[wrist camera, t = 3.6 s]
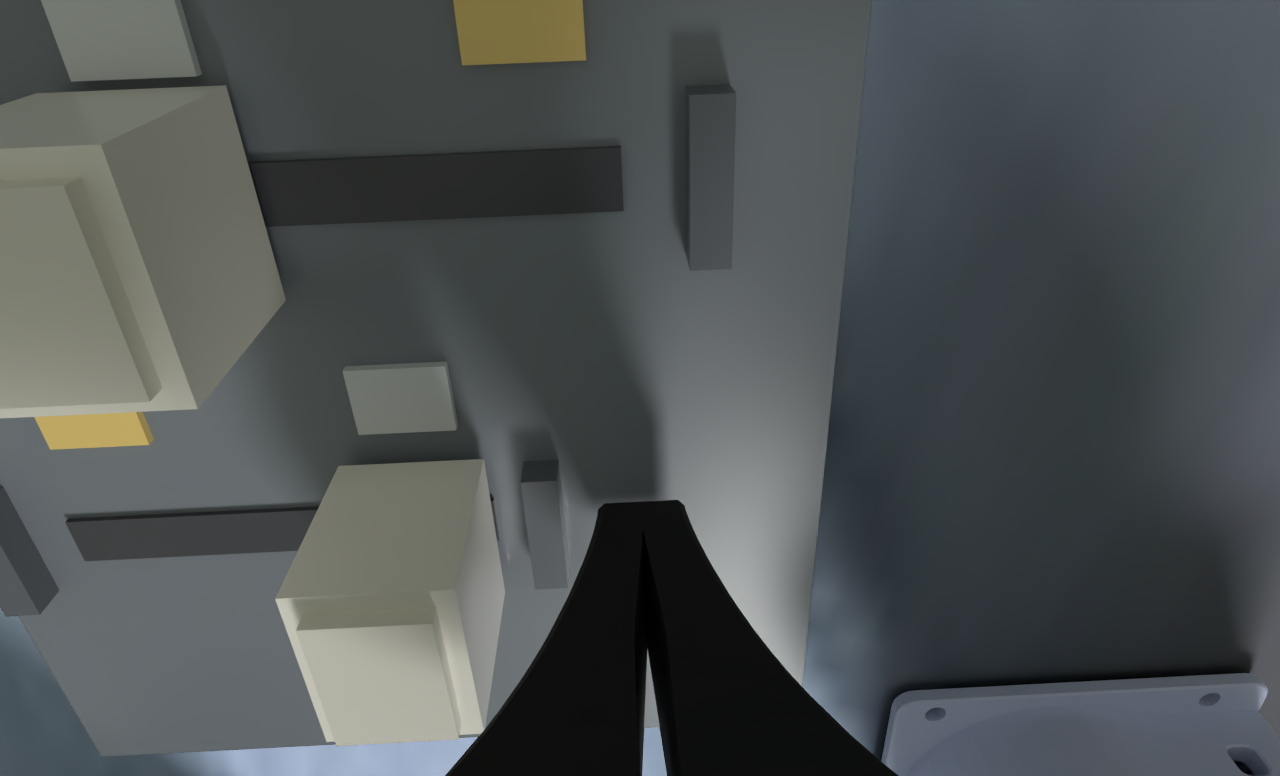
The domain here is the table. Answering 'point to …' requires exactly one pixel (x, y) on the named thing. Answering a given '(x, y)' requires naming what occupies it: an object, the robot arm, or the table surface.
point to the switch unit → (453, 323)
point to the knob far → (398, 603)
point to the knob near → (126, 251)
